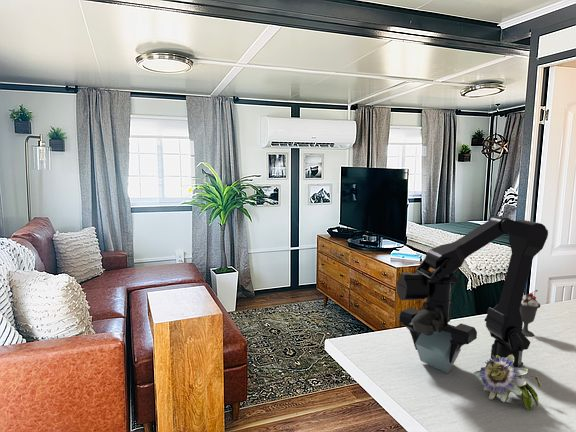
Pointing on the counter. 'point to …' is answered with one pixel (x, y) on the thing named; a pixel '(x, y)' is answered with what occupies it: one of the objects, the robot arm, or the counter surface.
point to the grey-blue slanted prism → (436, 350)
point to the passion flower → (506, 380)
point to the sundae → (528, 311)
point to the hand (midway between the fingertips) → (433, 355)
